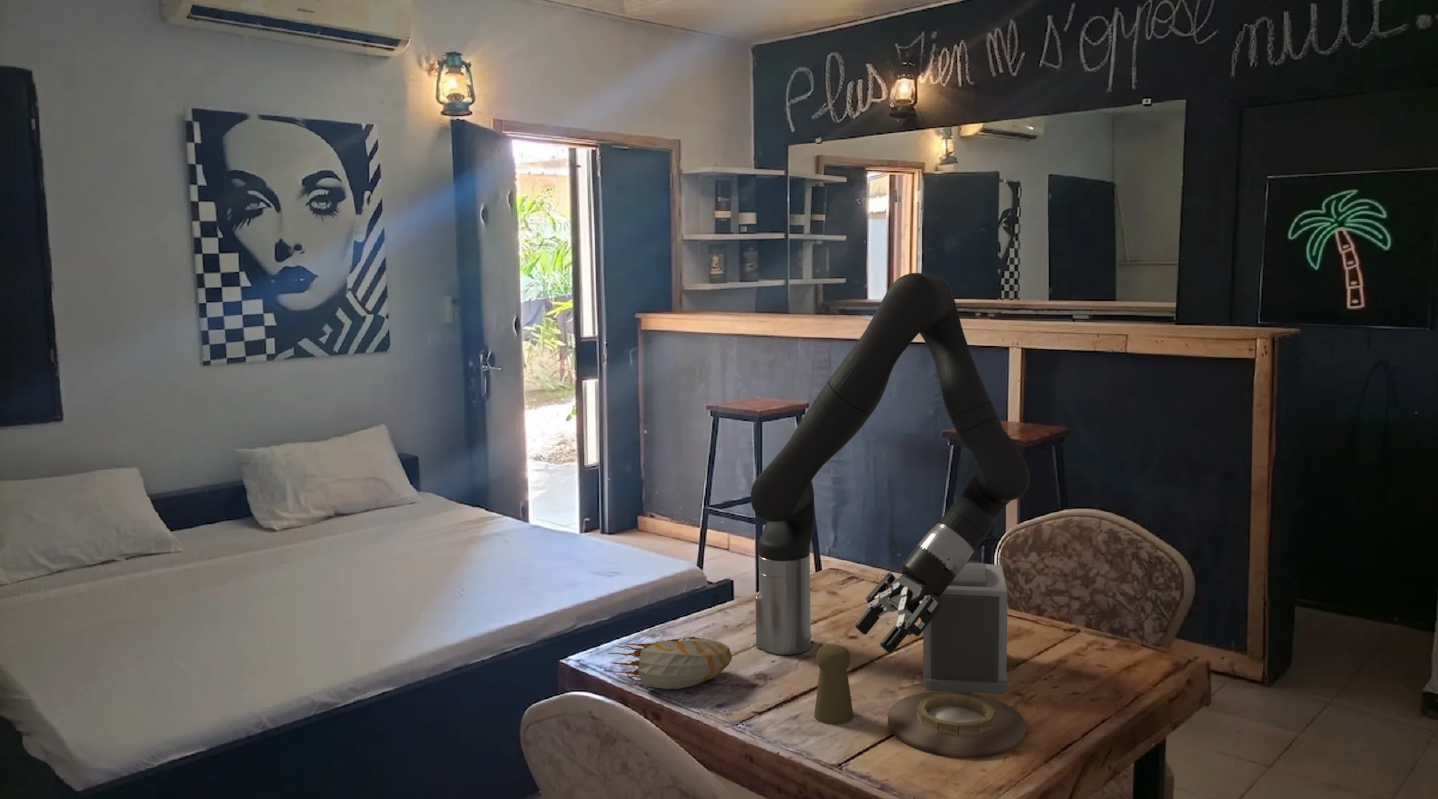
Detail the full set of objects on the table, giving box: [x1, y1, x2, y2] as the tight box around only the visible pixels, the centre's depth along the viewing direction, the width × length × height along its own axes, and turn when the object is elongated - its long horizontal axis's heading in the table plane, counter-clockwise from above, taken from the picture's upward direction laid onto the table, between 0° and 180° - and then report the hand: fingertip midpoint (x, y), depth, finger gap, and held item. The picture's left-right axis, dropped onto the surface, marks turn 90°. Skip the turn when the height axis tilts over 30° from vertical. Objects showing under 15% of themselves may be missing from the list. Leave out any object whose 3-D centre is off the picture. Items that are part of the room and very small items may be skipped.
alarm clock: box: [922, 562, 1008, 695], centre depth 174 cm, size 18×13×18 cm
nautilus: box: [606, 636, 733, 690], centre depth 173 cm, size 8×22×15 cm
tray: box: [887, 690, 1027, 759], centre depth 154 cm, size 20×20×3 cm
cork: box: [813, 644, 854, 726], centre depth 158 cm, size 6×6×11 cm
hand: (871, 640), depth 160 cm, fingers open, 8 cm apart
